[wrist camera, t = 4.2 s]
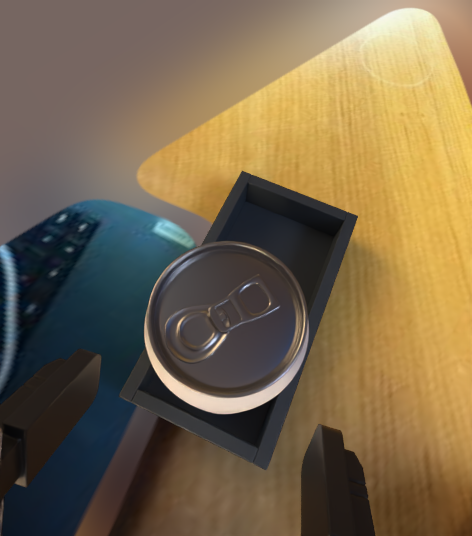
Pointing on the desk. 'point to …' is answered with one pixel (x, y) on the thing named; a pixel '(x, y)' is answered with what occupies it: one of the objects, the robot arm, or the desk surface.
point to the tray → (313, 287)
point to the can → (226, 327)
